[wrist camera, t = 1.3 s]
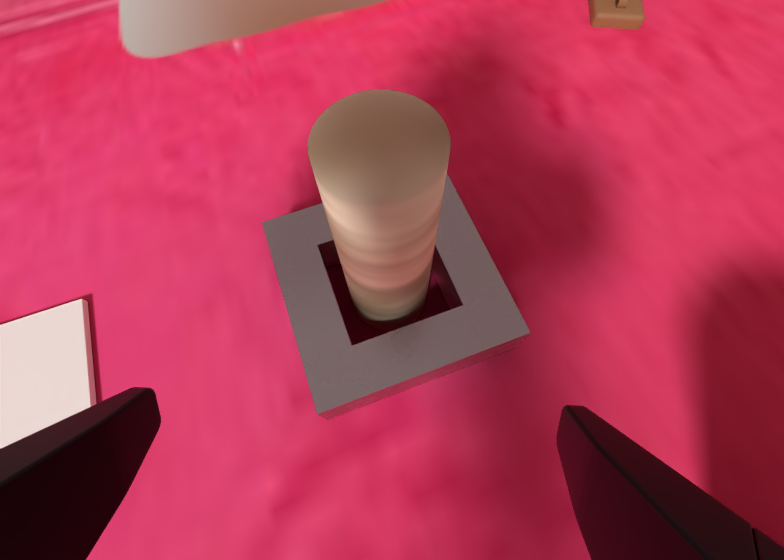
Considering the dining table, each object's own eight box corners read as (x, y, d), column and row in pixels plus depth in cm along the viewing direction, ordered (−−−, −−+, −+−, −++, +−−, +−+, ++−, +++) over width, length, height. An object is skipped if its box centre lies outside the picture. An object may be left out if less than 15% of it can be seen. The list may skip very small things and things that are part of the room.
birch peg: (437, 315, 24) (474, 175, 12) (366, 341, 24) (332, 221, 12) (410, 251, 26) (418, 74, 14) (342, 275, 25) (291, 111, 13)
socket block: (515, 347, 23) (530, 332, 21) (327, 419, 22) (317, 414, 19) (438, 194, 28) (442, 164, 25) (276, 247, 26) (261, 222, 23)
